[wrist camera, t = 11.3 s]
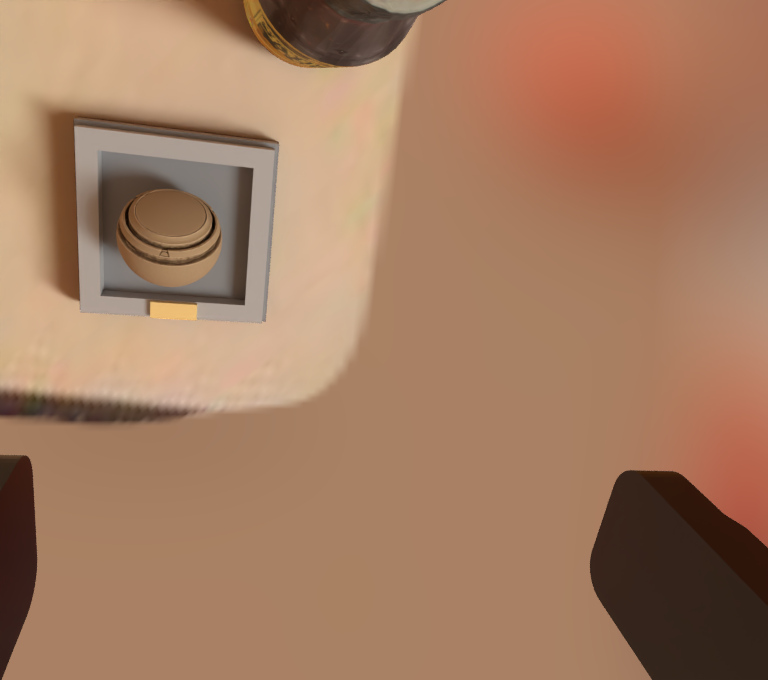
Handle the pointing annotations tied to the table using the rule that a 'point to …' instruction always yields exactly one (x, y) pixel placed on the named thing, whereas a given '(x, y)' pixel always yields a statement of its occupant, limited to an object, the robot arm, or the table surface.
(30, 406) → the table surface
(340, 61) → the sauce bottle
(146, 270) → the door knob
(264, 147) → the grey square tray
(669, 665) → the robot arm
